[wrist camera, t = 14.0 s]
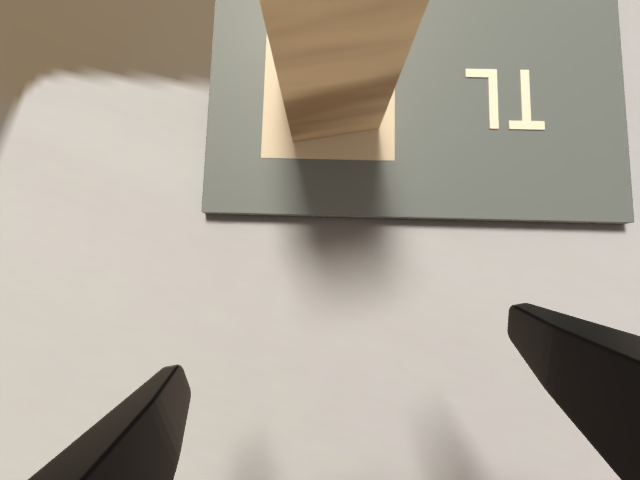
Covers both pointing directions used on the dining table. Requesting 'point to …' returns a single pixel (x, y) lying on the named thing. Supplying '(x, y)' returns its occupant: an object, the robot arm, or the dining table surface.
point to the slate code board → (437, 122)
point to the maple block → (339, 60)
